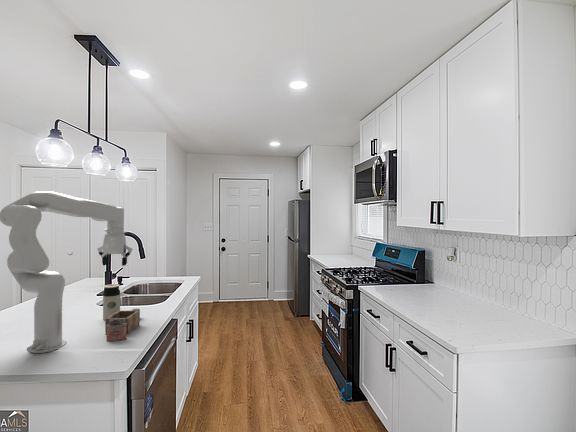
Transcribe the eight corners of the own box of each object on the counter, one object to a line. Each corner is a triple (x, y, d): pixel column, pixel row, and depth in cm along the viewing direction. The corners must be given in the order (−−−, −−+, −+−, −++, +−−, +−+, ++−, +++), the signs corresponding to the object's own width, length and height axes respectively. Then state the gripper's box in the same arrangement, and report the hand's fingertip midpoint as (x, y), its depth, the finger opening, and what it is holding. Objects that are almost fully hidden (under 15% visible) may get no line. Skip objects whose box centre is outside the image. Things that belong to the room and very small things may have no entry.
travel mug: (105, 318, 181) (105, 284, 181) (121, 317, 183) (121, 283, 183) (101, 322, 173) (101, 287, 173) (118, 321, 175) (118, 286, 175)
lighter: (105, 344, 145) (105, 320, 145) (107, 341, 148) (107, 318, 148) (125, 342, 147) (125, 319, 147) (127, 339, 150) (127, 316, 150)
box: (127, 336, 154) (127, 318, 154) (105, 336, 154) (105, 318, 154) (139, 326, 167) (139, 310, 167) (118, 326, 167) (118, 310, 167)
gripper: (94, 231, 168) (93, 265, 168) (129, 231, 168) (128, 266, 168) (102, 230, 176) (101, 264, 176) (135, 231, 176) (135, 264, 176)
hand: (114, 265), depth 172 cm, fingers open, 9 cm apart
